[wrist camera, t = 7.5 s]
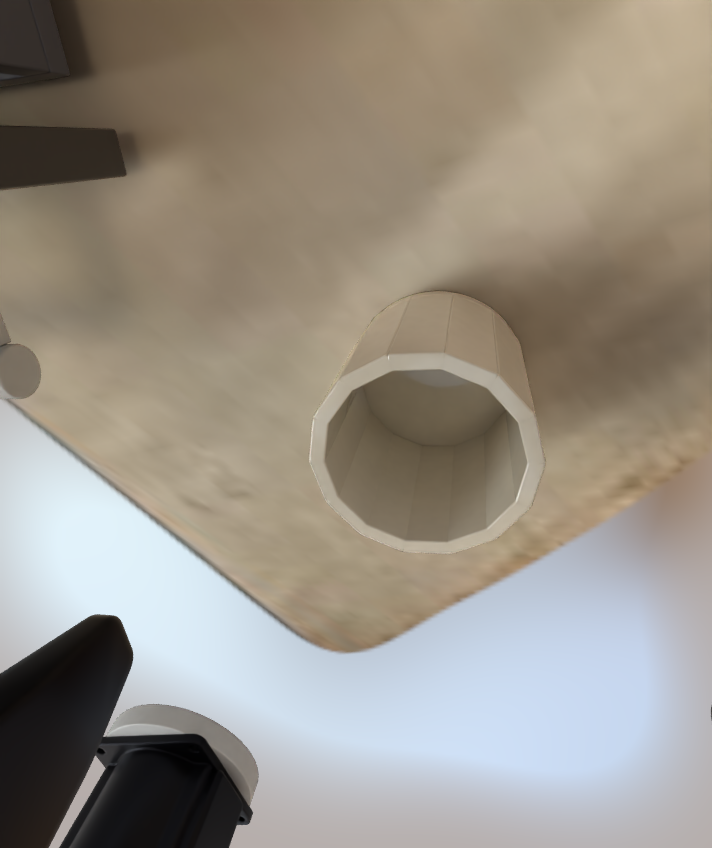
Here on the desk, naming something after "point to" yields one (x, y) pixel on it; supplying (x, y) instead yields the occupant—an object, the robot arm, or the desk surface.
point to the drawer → (41, 149)
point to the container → (430, 428)
